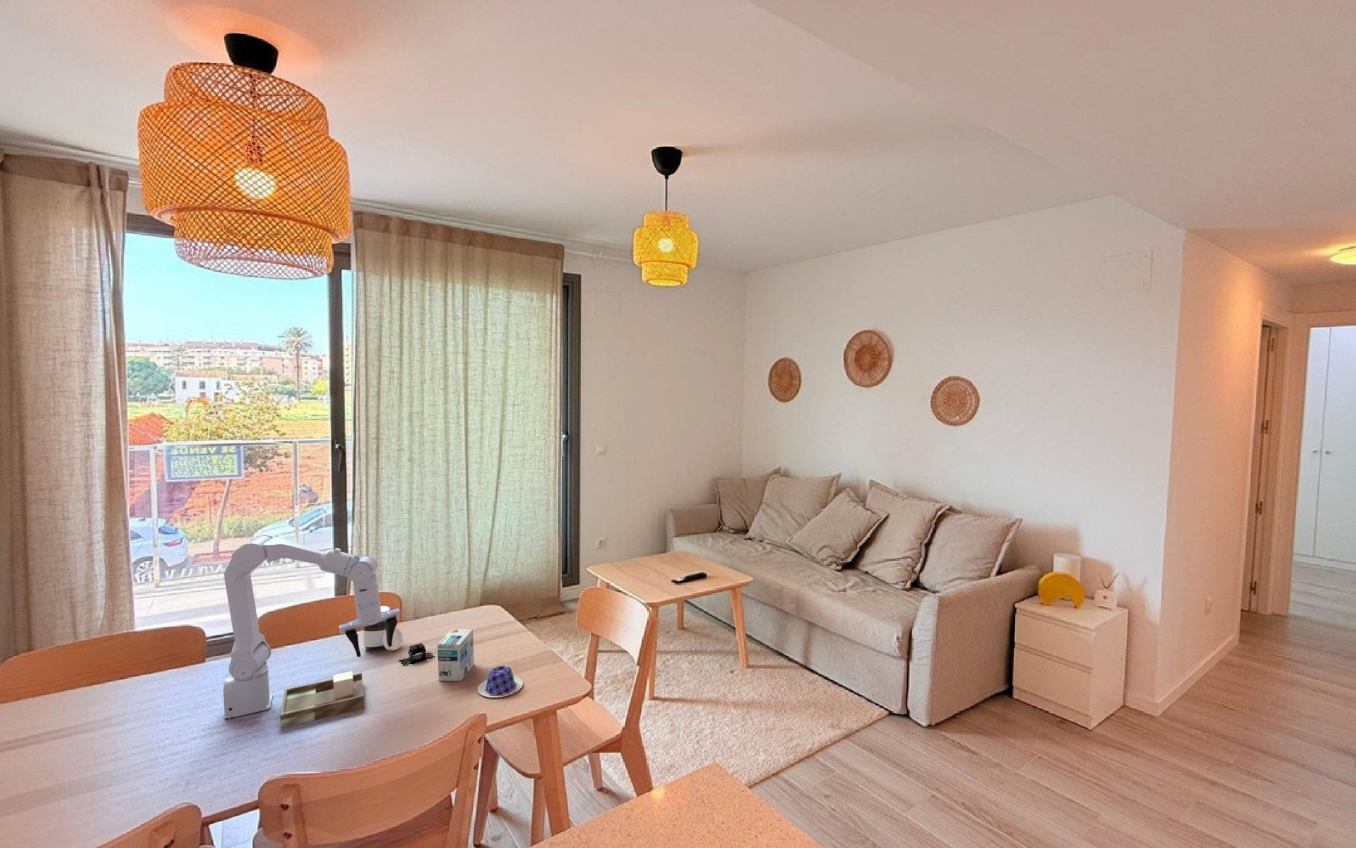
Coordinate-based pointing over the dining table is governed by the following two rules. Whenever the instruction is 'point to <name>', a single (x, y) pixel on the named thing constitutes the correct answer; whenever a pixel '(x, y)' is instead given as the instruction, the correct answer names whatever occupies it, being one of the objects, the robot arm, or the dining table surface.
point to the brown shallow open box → (318, 701)
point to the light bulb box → (455, 655)
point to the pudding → (500, 682)
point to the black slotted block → (417, 658)
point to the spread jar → (380, 636)
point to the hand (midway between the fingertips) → (374, 650)
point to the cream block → (343, 684)
